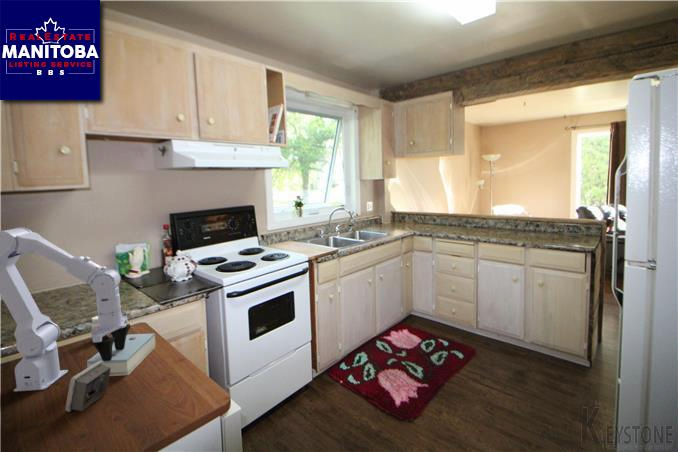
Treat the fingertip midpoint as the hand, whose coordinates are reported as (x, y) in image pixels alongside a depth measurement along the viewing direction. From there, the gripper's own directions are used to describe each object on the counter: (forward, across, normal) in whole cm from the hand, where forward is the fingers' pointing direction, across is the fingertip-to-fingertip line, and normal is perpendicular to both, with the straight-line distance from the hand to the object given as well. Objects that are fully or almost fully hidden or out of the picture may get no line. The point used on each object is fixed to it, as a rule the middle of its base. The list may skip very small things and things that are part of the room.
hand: (113, 354), depth 102 cm
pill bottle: (+5, +23, +18) cm, 29 cm away
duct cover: (+1, +6, 0) cm, 6 cm away
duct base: (+5, +6, 0) cm, 7 cm away
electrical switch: (+5, -16, -2) cm, 17 cm away
